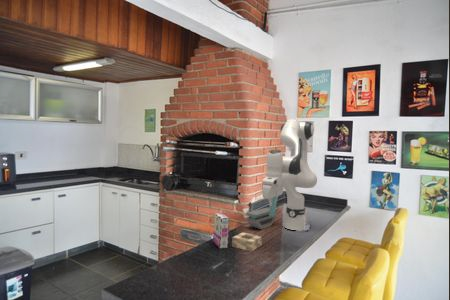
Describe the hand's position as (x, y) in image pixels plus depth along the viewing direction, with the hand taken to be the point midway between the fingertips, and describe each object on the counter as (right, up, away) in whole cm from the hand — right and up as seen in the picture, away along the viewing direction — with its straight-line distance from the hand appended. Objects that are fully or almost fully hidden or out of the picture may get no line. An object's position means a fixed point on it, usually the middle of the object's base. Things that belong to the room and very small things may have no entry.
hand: (272, 204), depth 164 cm
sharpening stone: (-2, -22, +37) cm, 43 cm away
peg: (0, -6, 0) cm, 6 cm away
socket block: (-14, -23, -1) cm, 27 cm away
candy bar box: (-29, -22, -1) cm, 36 cm away
